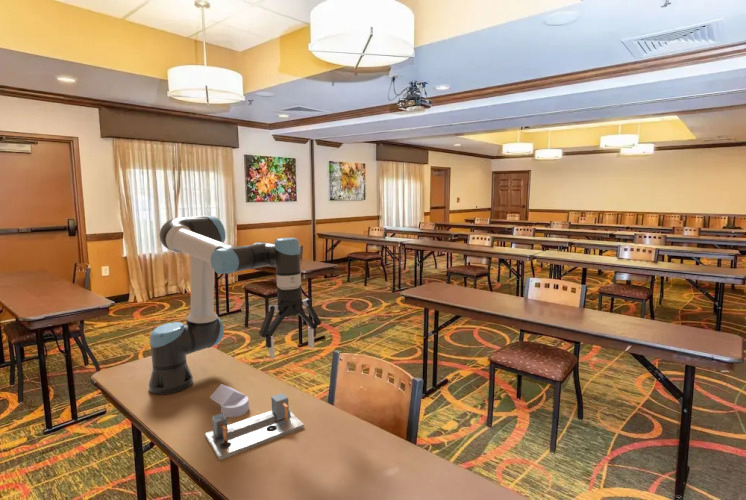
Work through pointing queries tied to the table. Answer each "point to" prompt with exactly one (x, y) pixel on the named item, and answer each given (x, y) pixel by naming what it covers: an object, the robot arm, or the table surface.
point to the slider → (280, 406)
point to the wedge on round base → (230, 401)
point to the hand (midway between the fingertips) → (292, 351)
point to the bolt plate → (248, 432)
